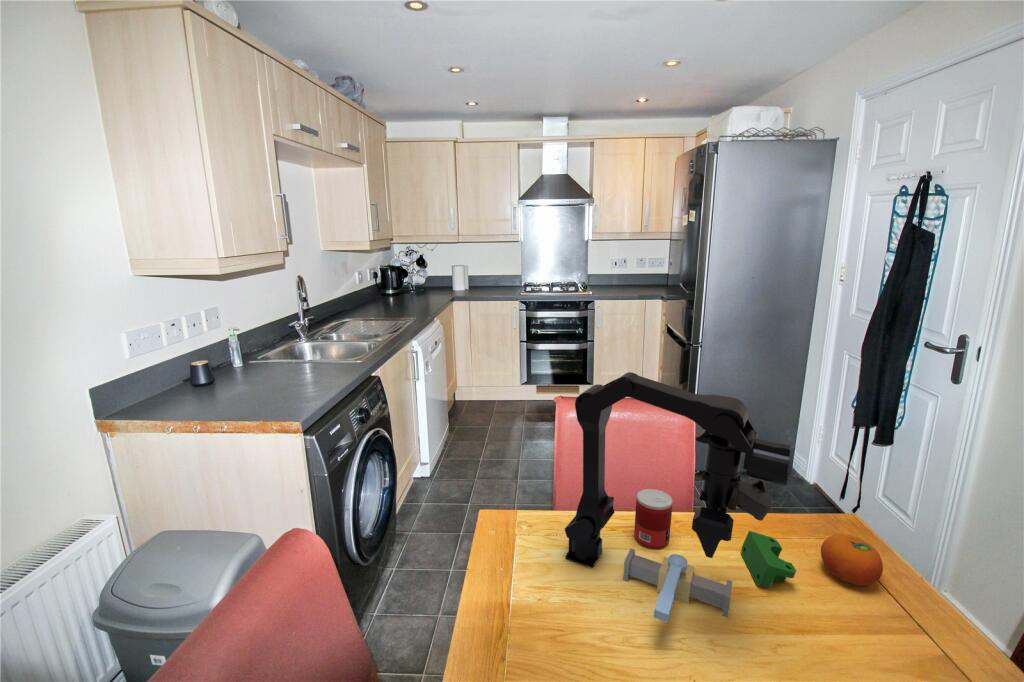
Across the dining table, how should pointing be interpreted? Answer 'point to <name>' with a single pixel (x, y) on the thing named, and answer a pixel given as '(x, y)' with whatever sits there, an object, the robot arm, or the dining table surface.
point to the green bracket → (765, 559)
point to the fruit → (851, 559)
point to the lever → (669, 587)
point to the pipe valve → (687, 581)
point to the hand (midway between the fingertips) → (712, 542)
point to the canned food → (653, 518)
